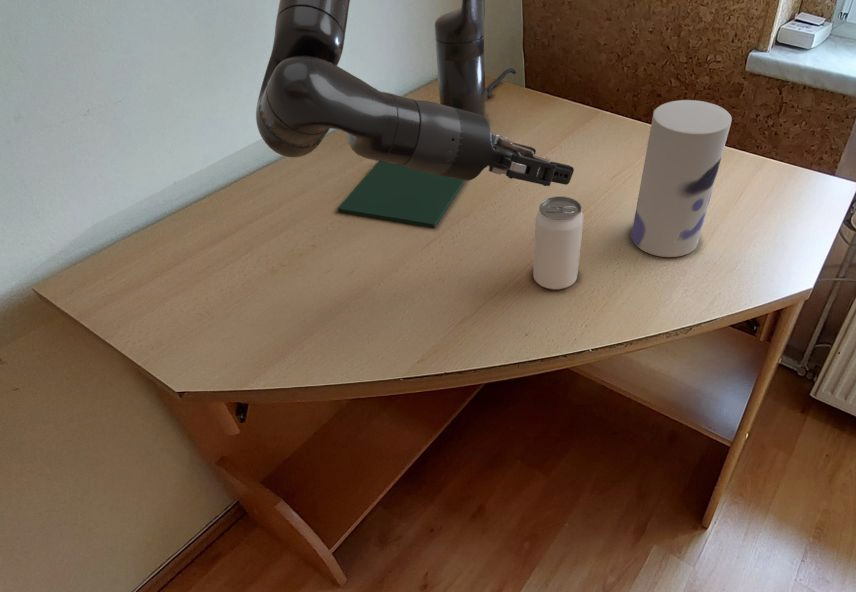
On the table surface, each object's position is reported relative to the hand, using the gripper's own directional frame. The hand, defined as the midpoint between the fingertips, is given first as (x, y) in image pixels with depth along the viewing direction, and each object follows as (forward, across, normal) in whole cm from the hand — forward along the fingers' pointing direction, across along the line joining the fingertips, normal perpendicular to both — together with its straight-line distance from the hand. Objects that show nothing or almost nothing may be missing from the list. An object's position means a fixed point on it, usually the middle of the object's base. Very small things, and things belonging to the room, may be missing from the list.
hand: (550, 165), depth 79 cm
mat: (-1, +35, +15) cm, 38 cm away
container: (+27, +1, +7) cm, 28 cm away
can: (+10, +2, +16) cm, 19 cm away
